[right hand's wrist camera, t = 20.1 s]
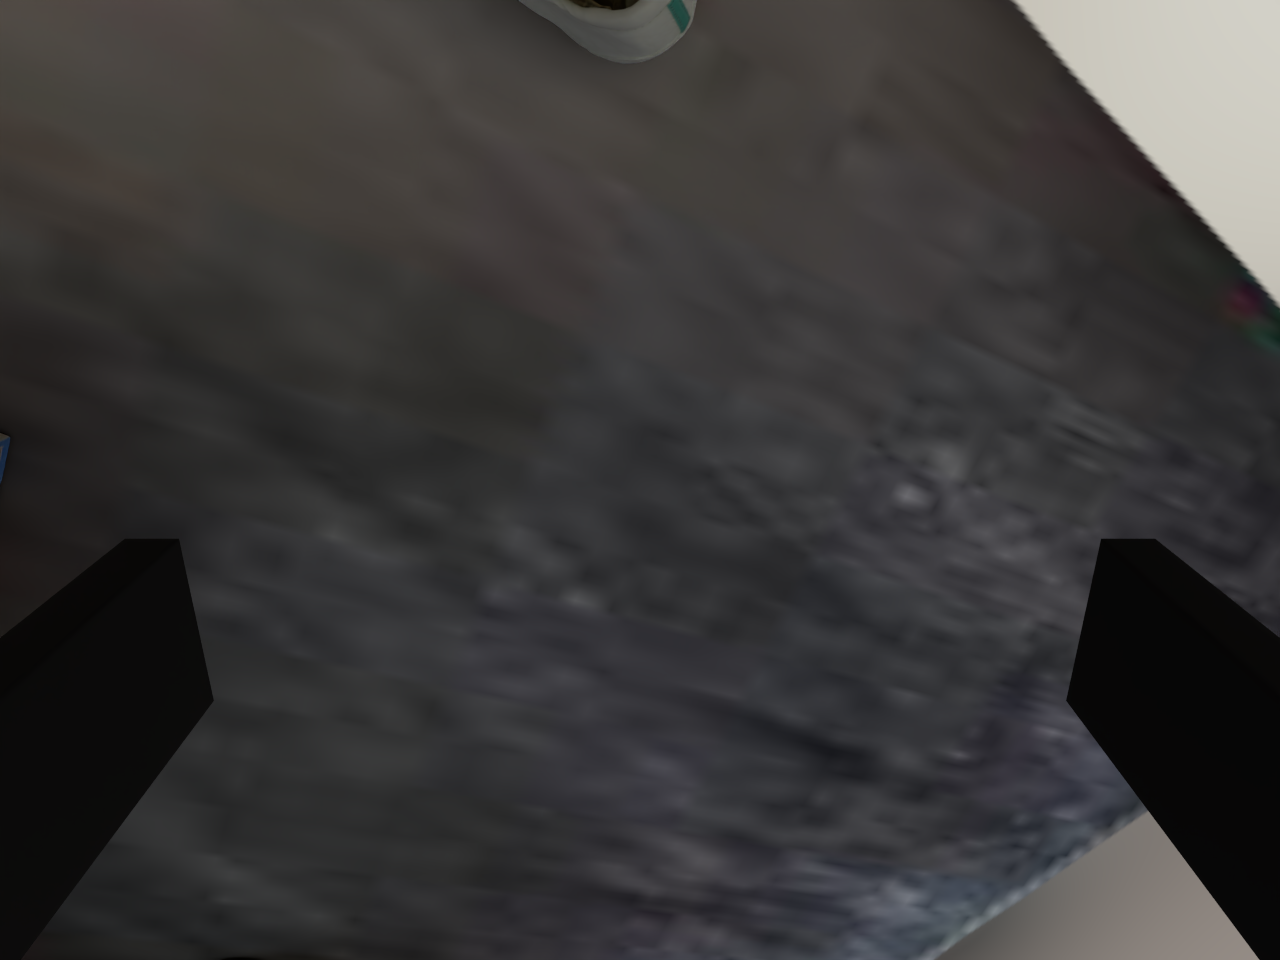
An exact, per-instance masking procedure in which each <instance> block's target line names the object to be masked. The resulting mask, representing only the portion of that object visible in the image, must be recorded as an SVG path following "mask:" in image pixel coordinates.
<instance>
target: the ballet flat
mask: <svg viewBox="0 0 1280 960" xmlns="http://www.w3.org/2000/svg"><path fill="white" fill-rule="evenodd" d="M518 1H520V2H521V3H522V4H524V5H525V6H526V7H528V8H529V9H531V10H532V11H534V12H535V13H537V14H538V15H540V16H542V17H544V18H545V19H547V20H549V21H551V22H552V23H554V24H555V25H556V26H558V27H559V28H560V29H562V30H563V31H564V32H565V33H566V34H567V35H568V36H569V37H570V38H571V39H573V40H574V41H575V42H576V43H578V44H579V45H580V46H582V47H583V48H585V49H587V50H588V51H589V52H590V53H592V54H594V55H596V56H599V57H602V58H604V59H607V60H609V61H612V62H616V63H621V64H634V63H641V62H644V61H647V60H650V59H652V58H654V57H656V56H658V55H660V54H662V53H664V52H665V51H667V50H668V49H669V48H670V47H671V46H673V45H674V44H675V43H676V42H677V41H678V40H679V39H680V38H681V37H683V36H684V34H685V33H686V32H687V30H688V29H689V27H690V25H691V23H692V21H693V17H694V12H695V7H696V3H697V0H518Z"/></svg>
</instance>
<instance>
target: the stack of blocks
mask: <svg viewBox="0 0 1280 960" xmlns="http://www.w3.org/2000/svg"><path fill="white" fill-rule="evenodd" d="M9 444H10V437H9V436H7V435H4V434H2V433H0V483H1V481H2V477H3V472H4V468H5V462H6V457H7V453H8V448H9Z"/></svg>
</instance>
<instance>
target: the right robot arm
mask: <svg viewBox="0 0 1280 960" xmlns="http://www.w3.org/2000/svg"><path fill="white" fill-rule="evenodd" d="M213 701H214V700H213V695H212V690H211V686H210V681H209V676H208V672H207V667H206V663H205V658H204V653H203V649H202V644H201V639H200V635H199V630H198V626H197V621H196V616H195V612H194V607H193V602H192V598H191V593H190V589H189V584H188V579H187V575H186V570H185V565H184V561H183V556H182V552H181V547H180V542H179V539H124V540H123V541H122V542H120V543H119V544H118V545H117V546H115V547H114V548H113V549H112V550H110V551H109V552H108V553H106V554H105V555H104V556H103V557H101V558H100V559H99V560H98V561H96V562H95V563H94V564H93V565H91V566H90V567H89V568H88V569H86V570H85V571H84V572H83V573H81V574H80V575H79V576H78V577H76V578H75V579H74V580H73V581H71V582H70V583H69V584H68V585H66V586H65V587H64V588H62V589H61V590H60V591H59V592H57V593H56V594H55V595H54V596H52V597H51V598H50V599H49V600H47V601H46V602H45V603H44V604H42V605H41V606H40V607H39V608H37V609H36V610H35V611H34V612H32V613H31V614H30V615H29V616H27V617H26V618H25V619H24V620H22V621H21V622H20V623H18V624H17V625H16V626H15V627H13V628H12V629H11V630H10V631H8V632H7V633H6V634H5V635H3V636H2V637H1V638H0V960H21V958H22V957H23V956H24V954H25V953H26V952H27V950H28V949H29V948H30V946H31V945H32V944H33V942H34V941H35V940H36V938H37V937H38V936H39V934H40V933H41V932H42V930H43V929H44V928H45V926H46V925H47V923H48V922H49V921H50V919H51V918H52V917H53V915H54V914H55V913H56V911H57V910H58V909H59V907H60V906H61V905H62V903H63V902H64V901H65V899H66V898H67V897H68V895H69V894H70V893H71V891H72V890H73V889H74V887H75V886H76V885H77V883H78V882H79V881H80V879H81V878H82V877H83V875H84V874H85V873H86V871H87V870H88V869H89V867H90V866H91V865H92V863H93V862H94V860H95V859H96V858H97V856H98V855H99V854H100V852H101V851H102V850H103V848H104V847H105V846H106V844H107V843H108V842H109V840H110V839H111V838H112V836H113V835H114V834H115V832H116V831H117V830H118V828H119V827H120V826H121V824H122V823H123V822H124V820H125V819H126V818H127V816H128V815H129V814H130V812H131V811H132V810H133V808H134V807H135V806H136V804H137V803H138V801H139V800H140V799H141V797H142V796H143V795H144V793H145V792H146V791H147V789H148V788H149V787H150V785H151V784H152V783H153V781H154V780H155V779H156V777H157V776H158V775H159V773H160V772H161V771H162V769H163V768H164V767H165V765H166V764H167V763H168V761H169V760H170V759H171V757H172V756H173V755H174V753H175V752H176V751H177V749H178V748H179V747H180V745H181V744H182V743H183V741H184V740H185V738H186V737H187V736H188V734H189V733H190V732H191V730H192V729H193V728H194V726H195V725H196V724H197V722H198V721H199V720H200V718H201V717H202V716H203V714H204V713H205V712H206V710H207V709H208V708H209V706H210V705H211V704H212V702H213ZM1066 701H1067V702H1068V704H1069V705H1070V706H1071V708H1072V709H1073V710H1074V712H1075V713H1076V714H1077V716H1078V717H1079V718H1080V720H1081V721H1082V722H1083V724H1084V725H1085V726H1086V728H1087V729H1088V730H1089V732H1090V733H1091V734H1092V736H1093V737H1094V738H1095V740H1096V741H1097V743H1098V744H1099V745H1100V747H1101V748H1102V749H1103V751H1104V752H1105V753H1106V755H1107V756H1108V757H1109V759H1110V760H1111V761H1112V763H1113V764H1114V765H1115V767H1116V768H1117V769H1118V771H1119V772H1120V773H1121V775H1122V776H1123V777H1124V779H1125V780H1126V781H1127V783H1128V784H1129V785H1130V787H1131V788H1132V789H1133V791H1134V792H1135V793H1136V795H1137V796H1138V797H1139V799H1140V800H1141V801H1142V803H1143V804H1144V806H1145V807H1146V808H1147V810H1148V811H1149V812H1150V814H1151V815H1152V816H1153V817H1154V819H1155V820H1156V822H1157V823H1158V824H1159V826H1160V827H1161V828H1162V830H1163V831H1164V832H1165V834H1166V835H1167V836H1168V838H1169V839H1170V840H1171V842H1172V843H1173V844H1174V846H1175V847H1176V848H1177V850H1178V851H1179V852H1180V854H1181V855H1182V856H1183V858H1184V859H1185V860H1186V862H1187V863H1188V865H1189V866H1190V867H1191V868H1192V870H1193V871H1194V872H1195V874H1196V875H1197V877H1198V878H1199V879H1200V881H1201V882H1202V883H1203V885H1204V886H1205V887H1206V889H1207V890H1208V891H1209V893H1210V894H1211V895H1212V897H1213V898H1214V899H1215V901H1216V902H1217V903H1218V905H1219V906H1220V907H1221V909H1222V910H1223V911H1224V913H1225V914H1226V915H1227V917H1228V918H1229V919H1230V921H1231V922H1232V923H1233V925H1234V926H1235V928H1236V929H1237V930H1238V932H1239V933H1240V934H1241V936H1242V937H1243V938H1244V940H1245V941H1246V942H1247V943H1248V945H1249V946H1250V948H1251V949H1252V950H1253V952H1254V953H1255V954H1256V956H1257V957H1258V958H1259V960H1280V638H1279V637H1278V636H1277V635H1275V634H1274V633H1273V632H1272V631H1270V630H1269V629H1268V628H1267V627H1265V626H1264V625H1263V624H1262V623H1260V622H1259V621H1258V620H1256V619H1255V618H1254V617H1253V616H1251V615H1250V614H1249V613H1248V612H1246V611H1245V610H1244V609H1243V608H1241V607H1240V606H1239V605H1238V604H1236V603H1235V602H1234V601H1233V600H1231V599H1230V598H1229V597H1228V596H1226V595H1225V594H1224V593H1223V592H1221V591H1220V590H1219V589H1218V588H1216V587H1215V586H1214V585H1212V584H1211V583H1210V582H1209V581H1207V580H1206V579H1205V578H1204V577H1202V576H1201V575H1200V574H1199V573H1197V572H1196V571H1195V570H1194V569H1192V568H1191V567H1190V566H1189V565H1187V564H1186V563H1185V562H1184V561H1182V560H1181V559H1180V558H1179V557H1177V556H1176V555H1175V554H1174V553H1172V552H1171V551H1170V550H1168V549H1167V548H1166V547H1165V546H1163V545H1162V544H1161V543H1160V542H1158V541H1157V540H1156V539H1101V542H1100V547H1099V552H1098V556H1097V561H1096V565H1095V570H1094V575H1093V579H1092V584H1091V589H1090V593H1089V598H1088V602H1087V607H1086V612H1085V616H1084V621H1083V626H1082V630H1081V635H1080V639H1079V644H1078V649H1077V653H1076V658H1075V663H1074V667H1073V672H1072V676H1071V681H1070V686H1069V690H1068V695H1067V700H1066Z"/></svg>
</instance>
